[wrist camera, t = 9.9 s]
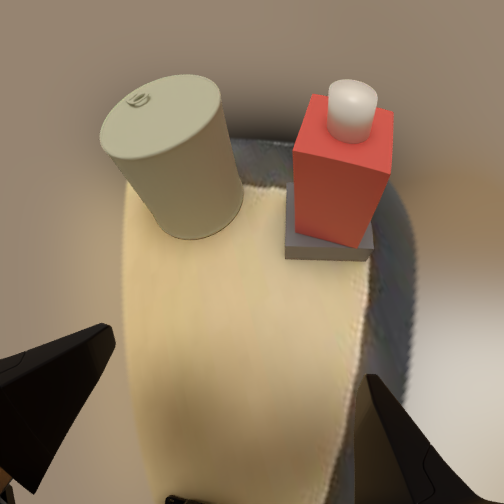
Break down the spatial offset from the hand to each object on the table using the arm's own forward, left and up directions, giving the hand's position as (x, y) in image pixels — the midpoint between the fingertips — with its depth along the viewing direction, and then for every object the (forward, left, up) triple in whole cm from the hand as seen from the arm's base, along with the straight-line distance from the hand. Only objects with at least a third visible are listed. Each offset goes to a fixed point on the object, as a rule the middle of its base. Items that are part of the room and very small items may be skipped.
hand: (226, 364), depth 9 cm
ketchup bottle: (+12, -4, -11) cm, 17 cm away
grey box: (+12, -4, -14) cm, 19 cm away
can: (+14, +9, -14) cm, 22 cm away
